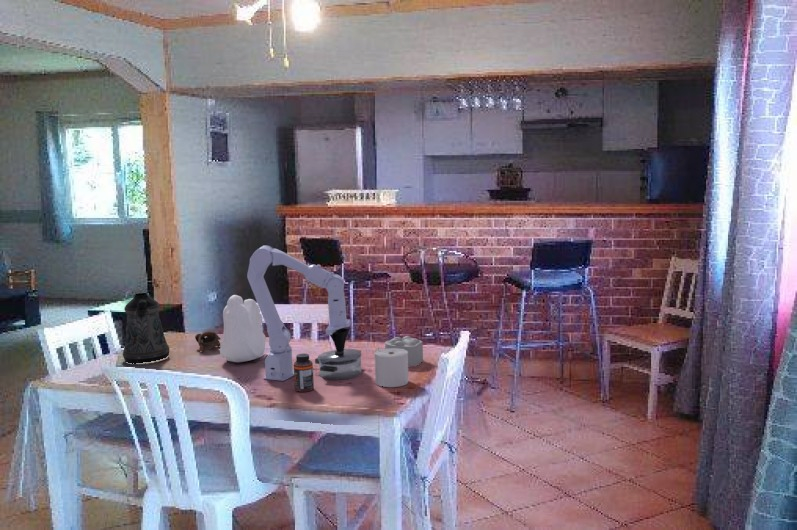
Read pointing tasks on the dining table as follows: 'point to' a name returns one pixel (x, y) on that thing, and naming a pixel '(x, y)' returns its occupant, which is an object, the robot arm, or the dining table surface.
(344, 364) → the cooker pot
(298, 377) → the supplement bottle
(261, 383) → the dining table surface
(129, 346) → the dark grey flared piece
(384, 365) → the toilet tissue
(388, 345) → the grey lumpy container
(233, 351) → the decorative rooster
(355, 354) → the cooker lid
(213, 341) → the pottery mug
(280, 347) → the robot arm
